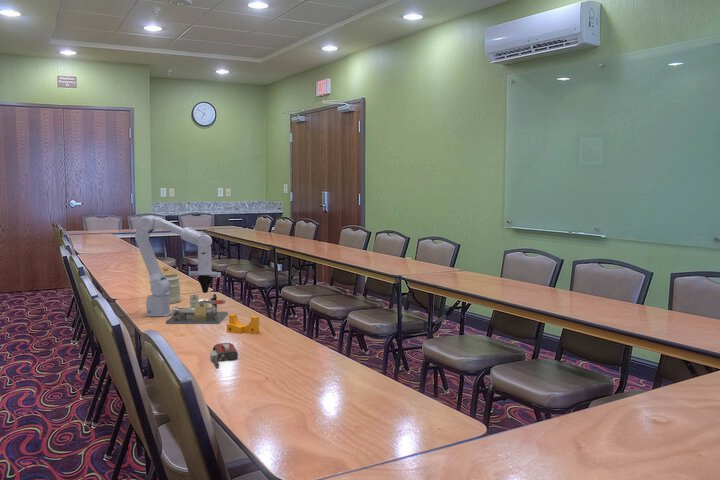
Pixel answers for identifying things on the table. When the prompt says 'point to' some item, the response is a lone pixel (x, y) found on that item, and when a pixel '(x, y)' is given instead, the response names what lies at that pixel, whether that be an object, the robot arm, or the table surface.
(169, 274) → the jar
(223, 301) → the valve lever
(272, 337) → the table surface
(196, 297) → the valve
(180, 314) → the pipe stand
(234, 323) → the pipe clamp
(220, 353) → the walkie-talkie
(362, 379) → the table surface
